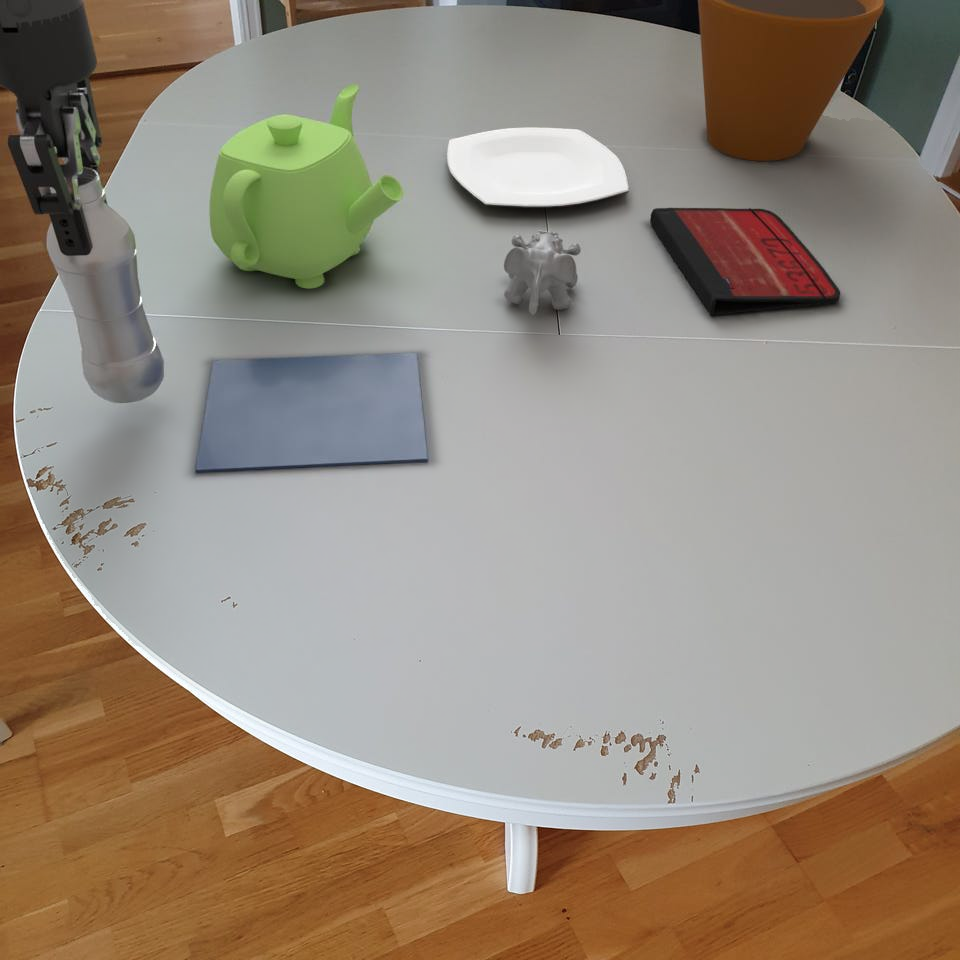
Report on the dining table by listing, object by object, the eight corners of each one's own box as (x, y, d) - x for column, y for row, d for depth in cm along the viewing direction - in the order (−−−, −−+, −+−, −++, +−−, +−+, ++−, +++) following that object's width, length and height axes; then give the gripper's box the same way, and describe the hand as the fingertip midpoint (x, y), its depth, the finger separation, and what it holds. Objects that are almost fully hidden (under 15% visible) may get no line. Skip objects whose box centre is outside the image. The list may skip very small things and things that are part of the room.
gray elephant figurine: (570, 275, 106) (577, 213, 101) (597, 335, 98) (606, 270, 93) (490, 280, 105) (493, 217, 100) (510, 341, 97) (514, 276, 91)
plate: (587, 135, 135) (588, 121, 134) (648, 210, 119) (651, 195, 117) (430, 147, 130) (430, 133, 129) (472, 227, 114) (473, 212, 112)
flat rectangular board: (195, 472, 81) (195, 470, 80) (213, 362, 92) (212, 360, 92) (427, 461, 83) (427, 458, 83) (416, 355, 94) (416, 352, 94)
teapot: (353, 336, 96) (343, 191, 86) (182, 283, 103) (152, 142, 92) (459, 230, 113) (462, 98, 102) (306, 191, 119) (294, 62, 108)
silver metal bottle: (95, 371, 85) (31, 160, 72) (172, 365, 86) (123, 156, 73) (86, 416, 81) (16, 199, 67) (167, 409, 82) (115, 194, 68)
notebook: (714, 298, 100) (651, 206, 114) (709, 316, 101) (647, 223, 116) (850, 293, 103) (772, 204, 118) (843, 311, 104) (766, 221, 119)
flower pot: (799, 192, 124) (844, 32, 110) (642, 142, 134) (665, -10, 120) (864, 136, 138) (911, -12, 124) (717, 95, 148) (746, -47, 134)
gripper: (-10, -33, 66) (56, 191, 78) (-74, 36, 56) (12, 282, 67) (100, -32, 67) (149, 189, 79) (56, 36, 57) (120, 279, 68)
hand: (85, 231), depth 73 cm, fingers closed on silver metal bottle, 6 cm apart
